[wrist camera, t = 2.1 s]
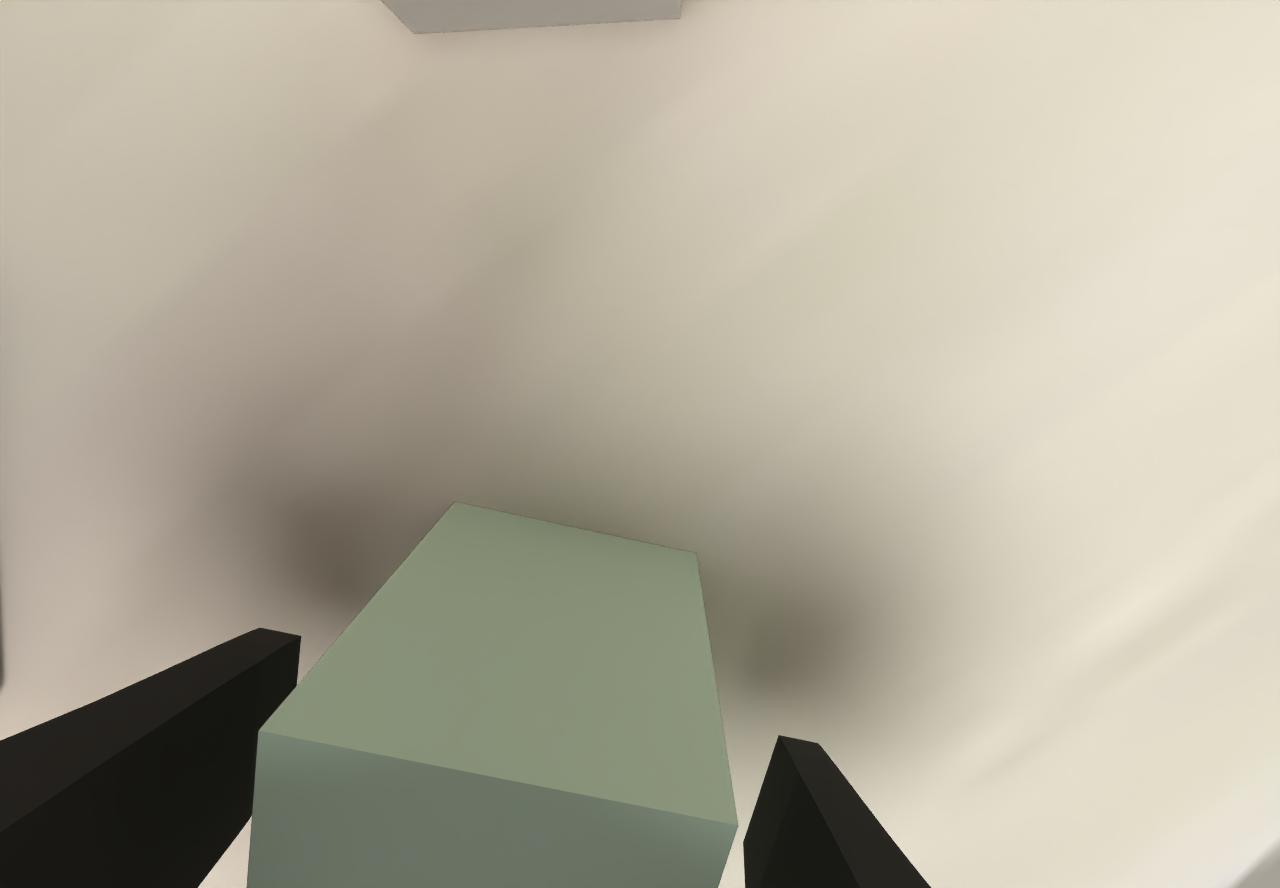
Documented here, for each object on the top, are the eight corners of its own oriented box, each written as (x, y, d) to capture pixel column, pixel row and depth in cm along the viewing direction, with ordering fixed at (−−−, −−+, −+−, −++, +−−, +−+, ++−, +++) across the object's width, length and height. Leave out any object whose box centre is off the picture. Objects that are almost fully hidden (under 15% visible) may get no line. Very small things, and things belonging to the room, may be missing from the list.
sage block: (454, 501, 12) (258, 730, 6) (695, 552, 12) (738, 825, 6) (423, 708, 13) (232, 1069, 7) (642, 751, 13) (635, 1141, 7)
